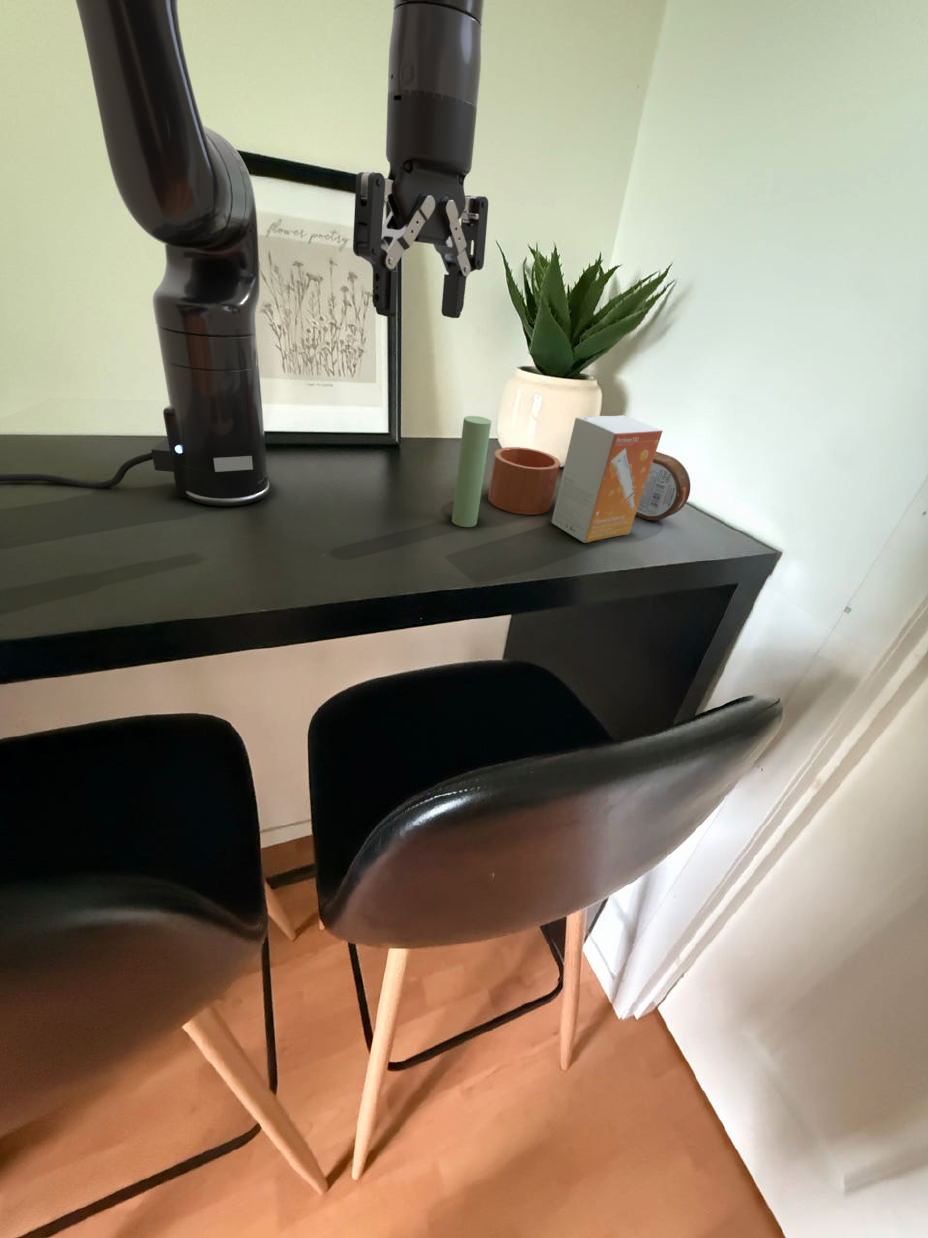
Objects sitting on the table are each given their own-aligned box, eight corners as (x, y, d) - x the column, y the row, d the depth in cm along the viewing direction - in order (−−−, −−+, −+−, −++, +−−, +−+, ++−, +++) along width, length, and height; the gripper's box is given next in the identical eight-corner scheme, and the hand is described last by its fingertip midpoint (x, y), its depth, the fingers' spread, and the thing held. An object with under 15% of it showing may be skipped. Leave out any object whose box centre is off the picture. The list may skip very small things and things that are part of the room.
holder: (491, 511, 70) (499, 465, 67) (485, 487, 77) (491, 444, 73) (556, 517, 71) (566, 471, 68) (543, 492, 78) (552, 450, 74)
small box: (584, 544, 65) (614, 432, 58) (549, 522, 69) (573, 415, 62) (631, 535, 69) (664, 429, 62) (595, 514, 73) (623, 413, 66)
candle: (452, 526, 65) (464, 421, 58) (451, 515, 67) (462, 414, 61) (477, 528, 65) (492, 424, 59) (475, 517, 68) (489, 417, 61)
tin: (679, 525, 74) (701, 463, 69) (668, 531, 72) (691, 467, 67) (584, 488, 81) (599, 430, 77) (572, 492, 79) (587, 433, 75)
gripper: (462, 119, 53) (445, 312, 62) (334, 75, 44) (337, 308, 53) (521, 117, 49) (494, 323, 58) (393, 67, 40) (385, 321, 49)
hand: (419, 316), depth 55 cm, fingers open, 8 cm apart
